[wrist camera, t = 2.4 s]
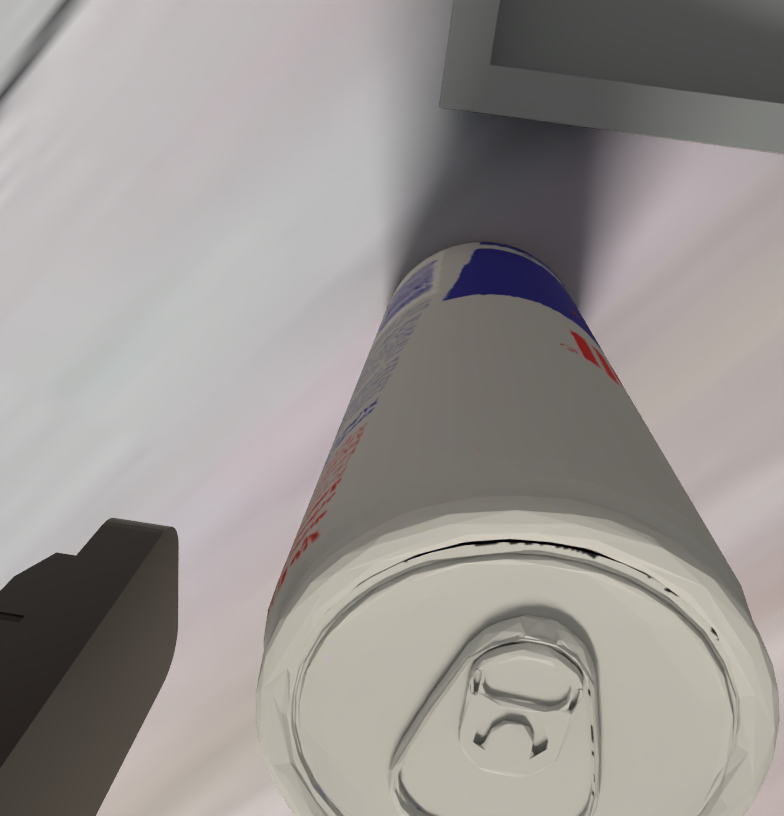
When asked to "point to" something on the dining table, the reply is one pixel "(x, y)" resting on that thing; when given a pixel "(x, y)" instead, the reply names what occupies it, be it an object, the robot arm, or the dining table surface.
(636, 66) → the tray
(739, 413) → the dining table surface
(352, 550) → the beverage can
